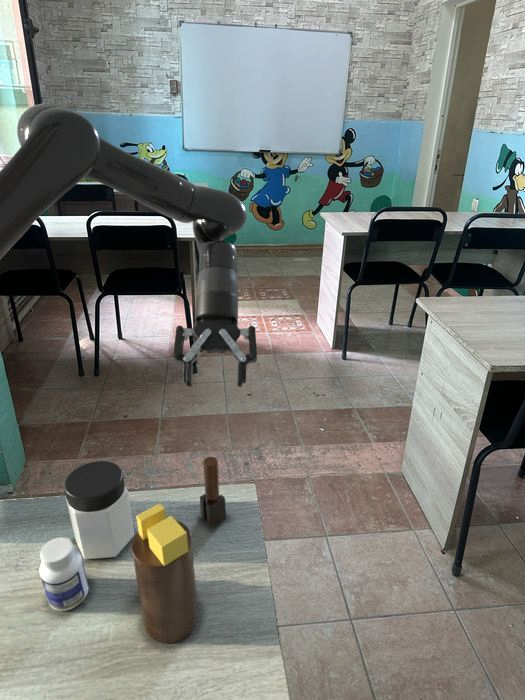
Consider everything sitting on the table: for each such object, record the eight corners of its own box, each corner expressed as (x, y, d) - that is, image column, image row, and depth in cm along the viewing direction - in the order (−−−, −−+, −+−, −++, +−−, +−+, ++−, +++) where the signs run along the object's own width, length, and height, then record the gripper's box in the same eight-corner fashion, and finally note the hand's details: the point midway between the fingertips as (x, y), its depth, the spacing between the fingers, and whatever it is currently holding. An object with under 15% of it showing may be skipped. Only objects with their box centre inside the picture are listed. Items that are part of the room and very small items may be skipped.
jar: (104, 510, 80) (93, 453, 75) (144, 526, 77) (135, 467, 72) (63, 550, 73) (48, 489, 67) (106, 569, 70) (94, 507, 64)
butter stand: (134, 614, 63) (121, 538, 57) (179, 584, 68) (172, 510, 61) (161, 655, 59) (150, 577, 52) (208, 620, 63) (203, 543, 57)
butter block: (149, 547, 56) (146, 528, 55) (173, 533, 58) (171, 515, 57) (164, 566, 54) (162, 547, 52) (188, 551, 56) (186, 532, 54)
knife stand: (201, 517, 79) (199, 496, 77) (215, 508, 80) (214, 488, 78) (210, 527, 77) (209, 506, 75) (225, 518, 79) (225, 497, 77)
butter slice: (138, 534, 58) (136, 515, 56) (162, 521, 60) (159, 503, 58) (143, 540, 57) (140, 521, 56) (167, 526, 59) (165, 508, 58)
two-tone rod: (203, 517, 79) (199, 460, 73) (215, 510, 80) (212, 454, 75) (211, 525, 77) (208, 468, 72) (223, 518, 79) (221, 461, 73)
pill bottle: (56, 578, 68) (43, 533, 64) (93, 577, 68) (83, 532, 64) (42, 613, 64) (28, 566, 60) (82, 612, 64) (70, 565, 60)
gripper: (174, 288, 82) (168, 380, 77) (256, 288, 83) (256, 380, 77) (180, 306, 89) (175, 391, 84) (256, 306, 90) (256, 391, 84)
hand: (214, 385), depth 81 cm, fingers open, 8 cm apart
